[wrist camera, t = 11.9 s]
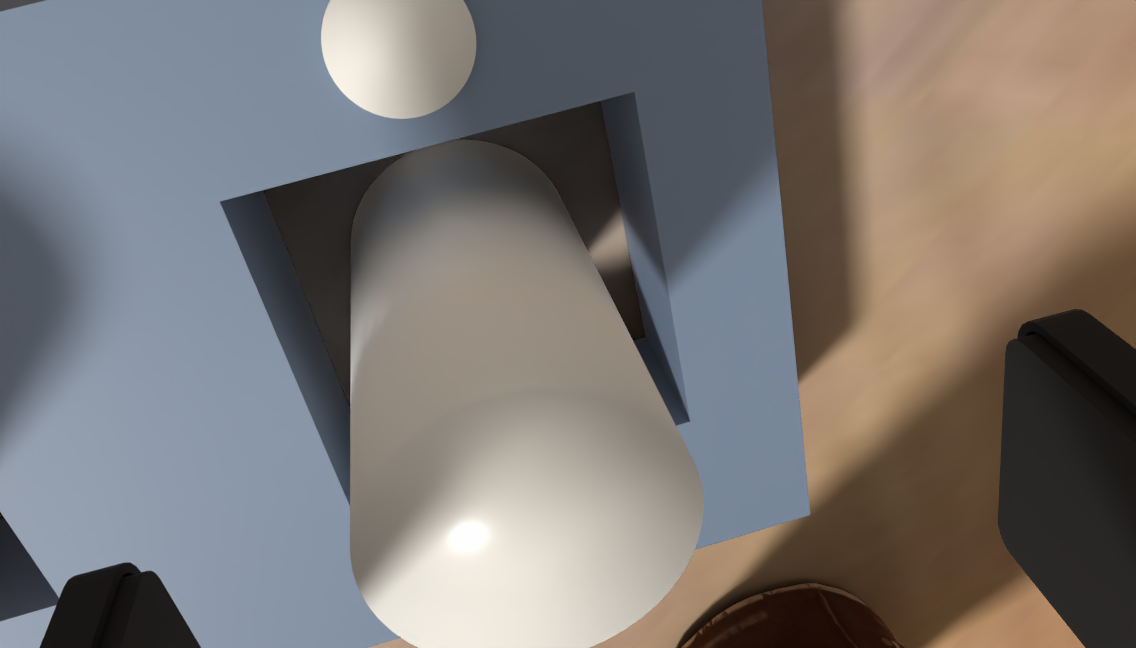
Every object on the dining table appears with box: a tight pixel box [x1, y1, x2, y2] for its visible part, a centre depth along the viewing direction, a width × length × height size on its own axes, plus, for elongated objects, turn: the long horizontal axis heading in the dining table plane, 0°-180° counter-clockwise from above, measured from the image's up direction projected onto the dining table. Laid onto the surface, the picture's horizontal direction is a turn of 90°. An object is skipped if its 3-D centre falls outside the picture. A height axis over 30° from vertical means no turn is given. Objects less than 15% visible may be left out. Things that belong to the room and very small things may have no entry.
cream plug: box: [350, 139, 704, 648], centre depth 14 cm, size 4×4×8 cm
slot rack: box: [0, 0, 810, 648], centre depth 16 cm, size 21×12×3 cm, turn 102°
